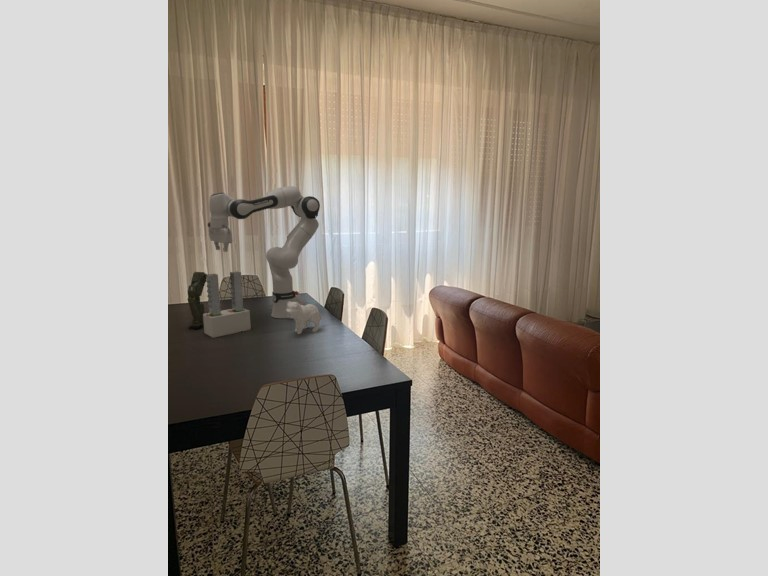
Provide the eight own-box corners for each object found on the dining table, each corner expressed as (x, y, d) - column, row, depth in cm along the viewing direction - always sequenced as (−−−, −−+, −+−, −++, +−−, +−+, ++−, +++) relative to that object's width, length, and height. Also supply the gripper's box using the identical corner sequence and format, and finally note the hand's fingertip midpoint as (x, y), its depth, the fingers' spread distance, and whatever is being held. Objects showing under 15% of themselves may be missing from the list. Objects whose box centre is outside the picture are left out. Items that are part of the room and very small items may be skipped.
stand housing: (241, 325, 236) (240, 306, 234) (250, 329, 229) (249, 309, 227) (204, 333, 223) (202, 312, 220) (212, 337, 215) (211, 316, 213)
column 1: (217, 316, 223) (214, 273, 218) (220, 318, 220) (217, 274, 215) (208, 318, 220) (205, 274, 215) (212, 319, 217) (208, 275, 212)
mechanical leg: (194, 330, 223) (198, 271, 224) (182, 329, 225) (186, 270, 226) (210, 329, 237) (214, 273, 238) (198, 328, 238) (202, 272, 239)
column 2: (239, 312, 231) (237, 271, 226) (243, 314, 228) (241, 272, 223) (231, 314, 228) (228, 272, 223) (235, 315, 225) (232, 273, 220)
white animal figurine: (316, 323, 241) (315, 293, 237) (330, 327, 234) (329, 296, 231) (279, 334, 222) (278, 302, 218) (293, 338, 215) (292, 305, 212)
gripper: (234, 225, 226) (236, 252, 229) (217, 223, 240) (219, 248, 243) (222, 225, 222) (224, 253, 225) (206, 223, 236) (207, 249, 239)
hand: (221, 250), depth 234 cm, fingers open, 8 cm apart
